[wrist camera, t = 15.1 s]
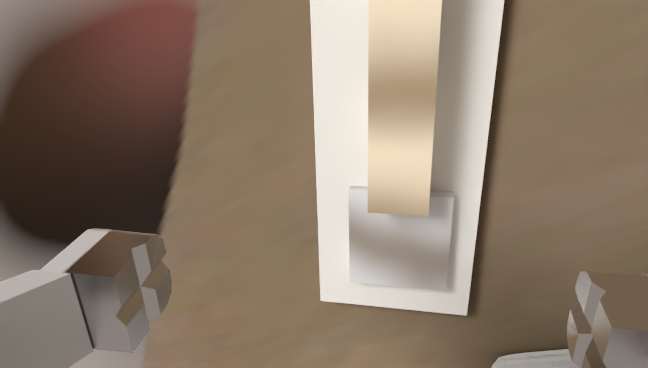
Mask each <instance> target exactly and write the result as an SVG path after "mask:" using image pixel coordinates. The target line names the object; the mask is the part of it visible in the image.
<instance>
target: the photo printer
mask: <svg viewBox="0 0 648 368" xmlns="http://www.w3.org/2000/svg"><path fill="white" fill-rule="evenodd" d="M491 368H579V367H578V366H577V365H575V364H574V363H573V362H572V360H571V356H570V353H569V349H561V350H550V351H538V352H527V353H517V354H511V355H506V356H502V357H499V358H498V359H497V360H496V361H495V362H494V364H493V365H492V367H491Z"/></svg>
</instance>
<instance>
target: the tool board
mask: <svg viewBox="0 0 648 368" xmlns="http://www.w3.org/2000/svg"><path fill="white" fill-rule="evenodd" d="M503 7H504V0H442V10H441V25H440V41H439V57H438V73H437V89H436V104H435V120H434V136H433V152H432V168H431V183H430V190H441V191H453V192H454V203H453V215H452V227H451V238H450V250H449V262H448V273H447V285H446V291H443V290H432V289H421V288H409V287H398V286H387V285H376V284H364V283H353V282H350V273H349V195H348V192H349V189H350V186H367V187H368V47H369V0H310V13H311V41H312V69H313V98H314V126H315V154H316V183H317V211H318V239H319V268H320V296H321V301H328V302H338V303H348V304H358V305H368V306H377V307H387V308H397V309H407V310H417V311H427V312H436V313H446V314H456V315H466V316H467V310H468V302H469V293H470V285H471V277H472V268H473V260H474V251H475V243H476V235H477V226H478V218H479V209H480V201H481V193H482V184H483V176H484V167H485V159H486V150H487V142H488V134H489V125H490V117H491V108H492V100H493V92H494V83H495V75H496V66H497V58H498V50H499V41H500V33H501V24H502V16H503Z"/></svg>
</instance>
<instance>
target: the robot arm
mask: <svg viewBox="0 0 648 368" xmlns="http://www.w3.org/2000/svg"><path fill="white" fill-rule="evenodd" d="M165 254H166V250H165V246H164V242H163V239H162V238H161V237H160V236H158V235H155V234H146V233H136V232H127V231H117V230H115V231H114V230H107V229H89V230H87V231H85V232H84V233H83V234H82V235H81V236H79V237H78V238H77V239H76V240H75V241H74V242H72V243H71V244H70V245H69V246H68V247H67V248H65V249H64V250H63V251H62V252H61V253H60V254H59V255H57V256H56V257H55V258H54V259H53V260H51V261H50V262H49V263H48V264H47V265H46V266H44V267H43V268H42V269H41V270H32V271H29V272H26V273H23V274H21V275H18V276H15V277H13V278H10V279H7V280H5V281H3V282H0V368H69V367H70V366H72V365H73V364H75V363H76V362H78V361H79V360H81V359H82V358H84V357H85V356H87V355H88V354H90V353H91V352H93V349H98V350H108V351H118V352H128V353H133V352H134V351H135V349H136V348H137V347H138V345H139V344H140V342H141V341H142V340H143V338H144V337H145V336H146V334H147V333H148V331H149V330H150V328H149V323H148V321H149V320H151V319H153V318H155V317H157V316H159V315H160V314H161V313H162V312H163V310H164V309H165V307H166V306H167V303H168V300H169V297H170V294H171V275H170V270H169V269H168V268H167V267H166V266H165V265H164V264H163V262H162V261H161V260H162V259H163V257H164V255H165ZM575 291H576V294H577V297H578V299H579V303H578V304H576V305H575V306H574V307H573V308H571V309H570V313H569V318H568V323H567V342H568V349H569V353H570V356H571V360H572V362H573V363H574V364H575V365H577V366H578V367H579V368H648V275H636V274H621V273H606V272H591V271H581V273H580V274H579V276H578V279H577V283H576V287H575Z"/></svg>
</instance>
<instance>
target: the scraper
mask: <svg viewBox="0 0 648 368" xmlns="http://www.w3.org/2000/svg"><path fill="white" fill-rule="evenodd" d="M441 10H442V0H369V47H368V187H367V186H350V189H349V192H348V195H349V273H350V282H353V283H364V284H376V285H387V286H398V287H409V288H421V289H432V290H443V291H446V285H447V273H448V262H449V250H450V238H451V227H452V215H453V203H454V192H453V191H441V190H430V183H431V168H432V152H433V136H434V120H435V104H436V89H437V73H438V57H439V41H440V25H441Z"/></svg>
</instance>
